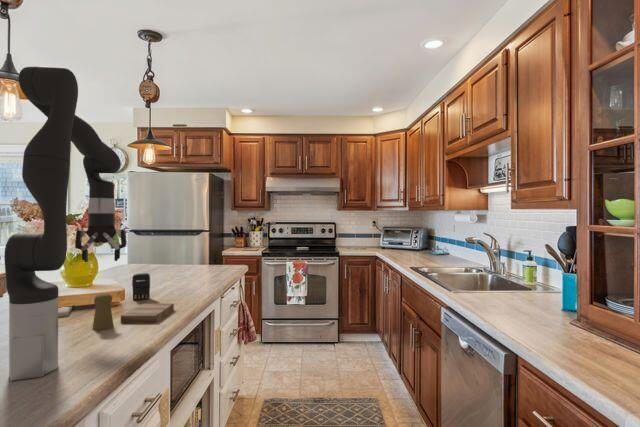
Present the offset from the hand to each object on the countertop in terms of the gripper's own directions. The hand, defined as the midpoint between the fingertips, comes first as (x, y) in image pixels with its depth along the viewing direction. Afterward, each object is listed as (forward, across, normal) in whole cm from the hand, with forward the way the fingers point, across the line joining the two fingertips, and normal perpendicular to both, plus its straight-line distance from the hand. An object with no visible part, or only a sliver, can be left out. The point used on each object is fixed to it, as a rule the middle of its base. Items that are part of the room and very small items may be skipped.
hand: (101, 261), depth 117 cm
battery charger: (+22, +9, +37) cm, 44 cm away
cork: (+22, +1, 0) cm, 22 cm away
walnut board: (+22, +14, +9) cm, 27 cm away
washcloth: (+22, -20, +27) cm, 41 cm away
